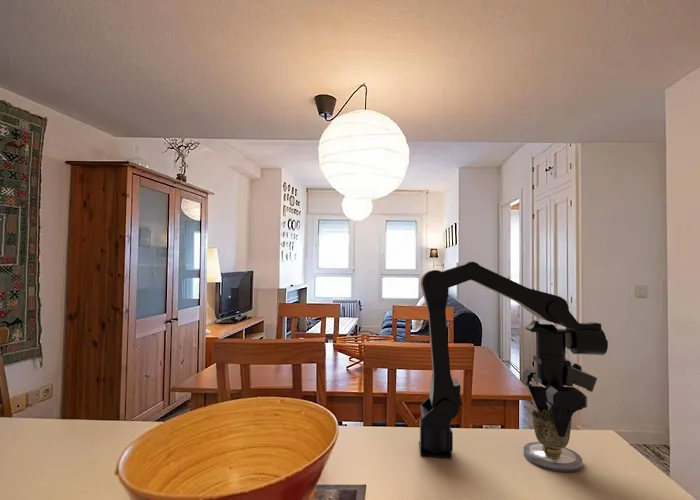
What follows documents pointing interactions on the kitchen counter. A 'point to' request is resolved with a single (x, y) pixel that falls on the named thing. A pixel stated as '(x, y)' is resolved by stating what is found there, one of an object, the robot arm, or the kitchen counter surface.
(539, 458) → the gray-rimmed plate
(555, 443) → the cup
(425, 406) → the robot arm
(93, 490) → the kitchen counter surface
